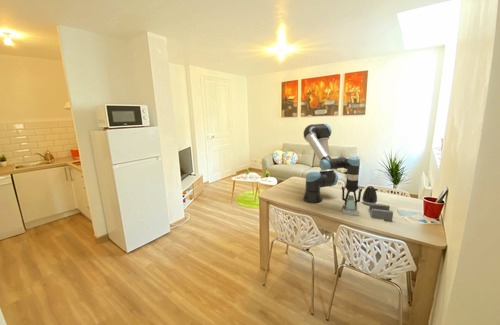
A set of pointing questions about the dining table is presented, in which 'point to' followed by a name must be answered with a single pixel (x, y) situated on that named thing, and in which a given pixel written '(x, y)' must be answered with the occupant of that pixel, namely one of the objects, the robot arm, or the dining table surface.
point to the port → (380, 211)
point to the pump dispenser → (369, 195)
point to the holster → (350, 211)
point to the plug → (350, 203)
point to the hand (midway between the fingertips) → (350, 209)
